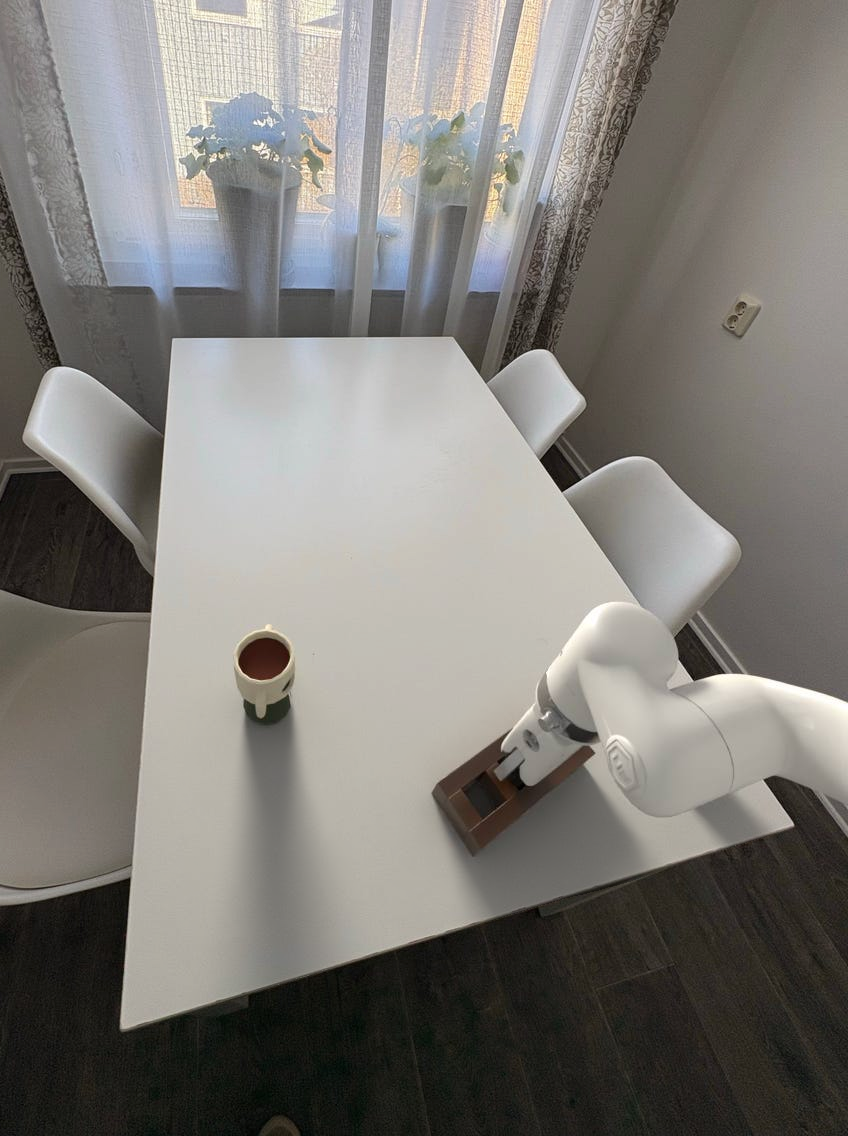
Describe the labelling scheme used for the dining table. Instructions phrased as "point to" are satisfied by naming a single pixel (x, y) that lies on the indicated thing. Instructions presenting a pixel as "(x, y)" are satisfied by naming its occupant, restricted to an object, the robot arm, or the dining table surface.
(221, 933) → the dining table surface
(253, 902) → the dining table surface
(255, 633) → the character mug
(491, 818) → the holder
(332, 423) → the dining table surface
